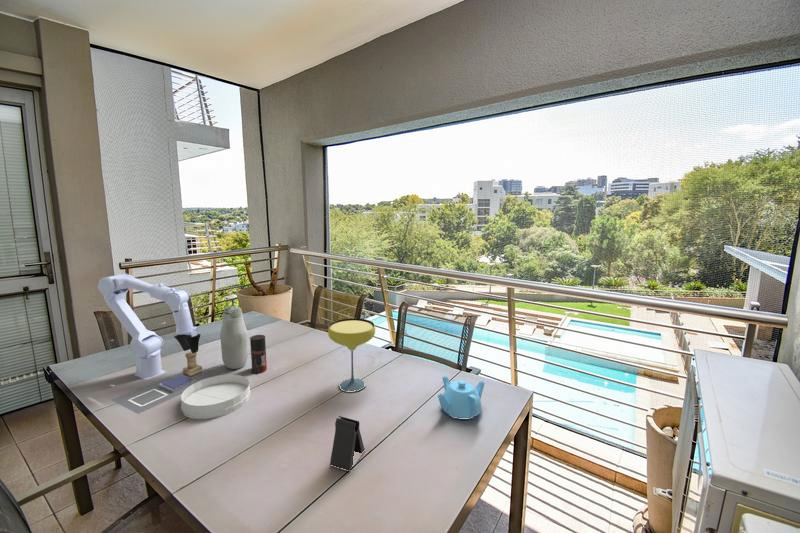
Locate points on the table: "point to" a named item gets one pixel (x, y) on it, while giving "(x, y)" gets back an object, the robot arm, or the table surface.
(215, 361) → the table surface
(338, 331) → the cocktail glass
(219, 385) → the dish
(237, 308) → the glass bottle
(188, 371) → the stamp
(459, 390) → the teapot
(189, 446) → the table surface
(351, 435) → the phone stand
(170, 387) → the ink pad
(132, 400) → the desk mat
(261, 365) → the deodorant
